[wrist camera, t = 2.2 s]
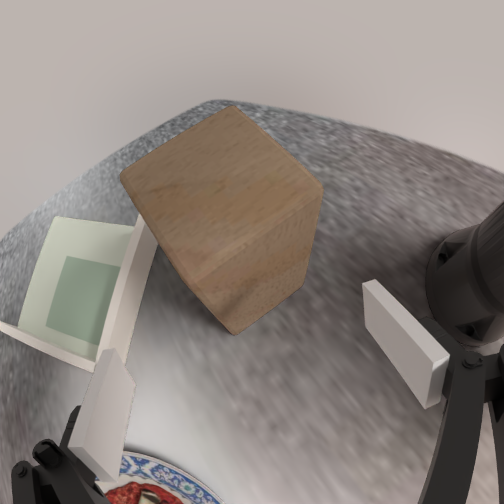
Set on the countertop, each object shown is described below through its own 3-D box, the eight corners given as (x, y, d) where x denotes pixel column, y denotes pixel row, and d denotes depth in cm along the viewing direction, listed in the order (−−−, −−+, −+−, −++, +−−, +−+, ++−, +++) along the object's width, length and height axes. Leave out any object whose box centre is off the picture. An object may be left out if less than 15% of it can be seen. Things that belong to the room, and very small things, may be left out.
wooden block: (305, 284, 37) (328, 185, 19) (234, 337, 35) (185, 285, 17) (253, 224, 41) (233, 100, 22) (186, 270, 39) (115, 172, 21)
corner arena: (161, 232, 41) (148, 213, 37) (122, 378, 34) (101, 376, 30) (56, 217, 44) (39, 201, 39) (18, 335, 37) (-5, 328, 32)
